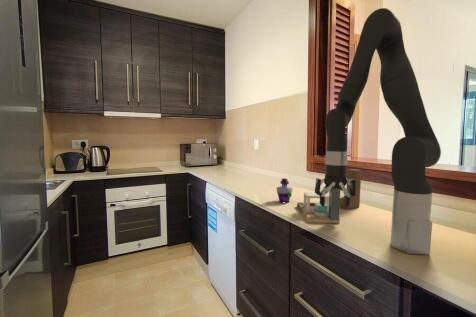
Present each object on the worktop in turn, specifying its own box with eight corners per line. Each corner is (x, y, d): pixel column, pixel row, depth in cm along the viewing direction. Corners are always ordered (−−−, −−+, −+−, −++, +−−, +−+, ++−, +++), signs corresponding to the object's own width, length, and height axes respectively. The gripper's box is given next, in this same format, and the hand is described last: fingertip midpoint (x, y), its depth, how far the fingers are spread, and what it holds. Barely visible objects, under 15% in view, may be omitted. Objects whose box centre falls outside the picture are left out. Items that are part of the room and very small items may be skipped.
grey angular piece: (339, 220, 92) (340, 188, 91) (318, 220, 92) (319, 188, 91) (329, 212, 102) (331, 183, 101) (311, 211, 102) (312, 183, 101)
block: (327, 215, 98) (327, 205, 97) (316, 215, 98) (317, 205, 97) (324, 212, 102) (324, 203, 101) (314, 212, 102) (314, 202, 101)
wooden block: (347, 209, 114) (349, 170, 112) (339, 207, 118) (340, 169, 116) (359, 207, 118) (361, 169, 116) (351, 204, 122) (353, 168, 120)
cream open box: (328, 211, 103) (329, 196, 103) (307, 211, 104) (307, 195, 103) (323, 206, 110) (324, 192, 110) (303, 206, 111) (304, 192, 110)
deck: (339, 223, 95) (339, 218, 95) (308, 222, 95) (308, 217, 95) (322, 207, 117) (322, 202, 117) (297, 206, 118) (297, 202, 118)
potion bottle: (289, 204, 121) (289, 180, 120) (272, 202, 126) (273, 178, 125) (294, 200, 129) (295, 178, 128) (279, 198, 133) (279, 176, 132)
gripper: (319, 164, 88) (317, 208, 89) (360, 164, 87) (357, 209, 88) (314, 162, 95) (312, 203, 97) (351, 162, 95) (349, 204, 96)
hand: (334, 206), depth 92 cm, fingers open, 8 cm apart
